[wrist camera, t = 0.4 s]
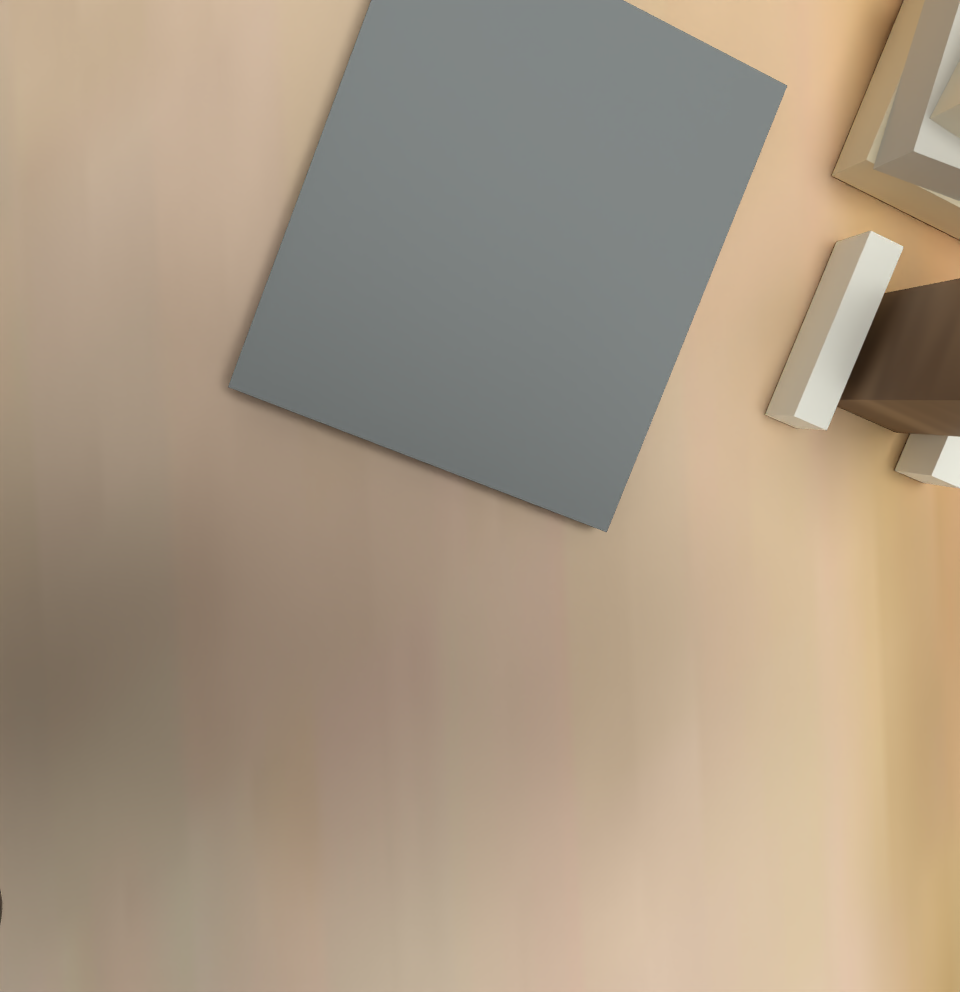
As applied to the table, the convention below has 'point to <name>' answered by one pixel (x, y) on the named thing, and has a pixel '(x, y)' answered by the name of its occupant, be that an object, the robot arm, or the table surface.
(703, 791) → the table surface
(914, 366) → the walnut block
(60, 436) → the table surface
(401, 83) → the slate mat
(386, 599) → the table surface
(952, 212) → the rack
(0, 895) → the robot arm
